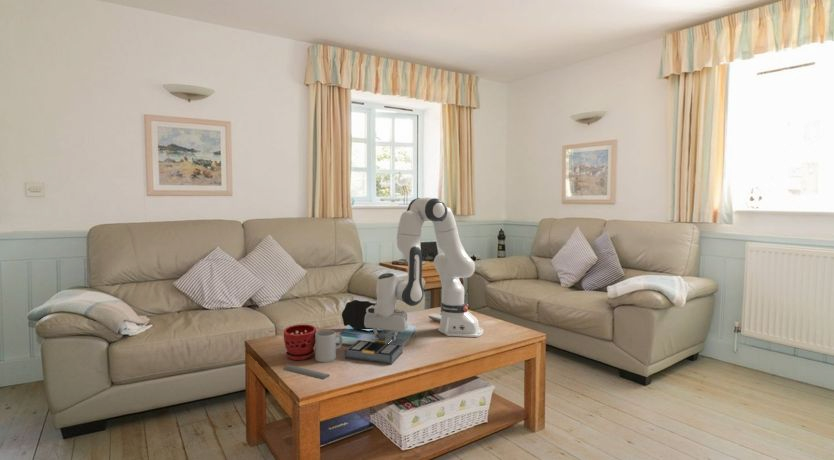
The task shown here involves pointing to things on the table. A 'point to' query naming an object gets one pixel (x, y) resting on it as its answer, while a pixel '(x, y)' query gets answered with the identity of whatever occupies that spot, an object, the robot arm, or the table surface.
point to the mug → (326, 345)
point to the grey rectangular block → (385, 335)
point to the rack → (374, 351)
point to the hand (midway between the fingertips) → (385, 338)
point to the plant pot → (299, 341)
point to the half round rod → (306, 372)
